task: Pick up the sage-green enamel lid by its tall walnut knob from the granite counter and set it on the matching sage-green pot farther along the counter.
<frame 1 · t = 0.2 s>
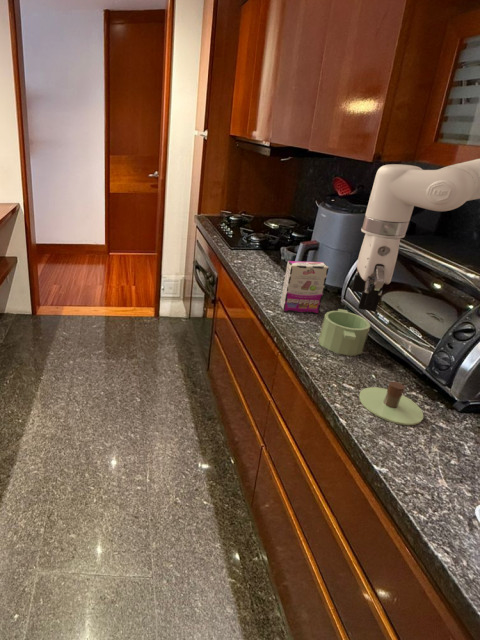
hand: (362, 300, 87), 22 cm above the worktop, tool pointing down, fingers open, 9 cm apart
pot: (339, 346, 109), on the worktop
lid: (389, 406, 86), point 1 cm above the worktop
candy bar box: (298, 309, 130), on the worktop
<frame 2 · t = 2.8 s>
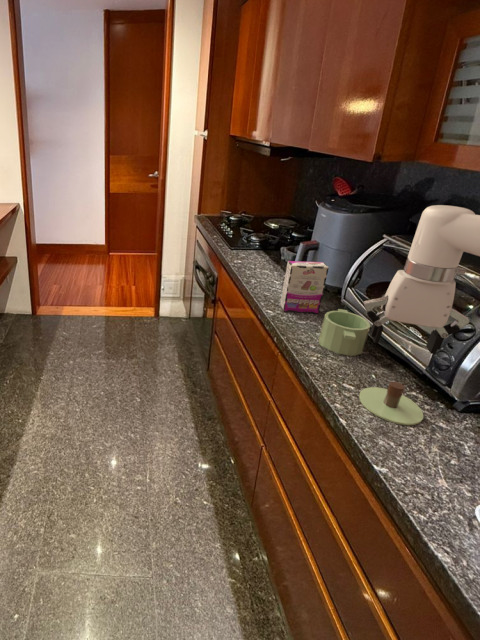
hand: (401, 345, 81), 16 cm above the worktop, tool pointing down, fingers open, 9 cm apart
nothing on the worktop moved.
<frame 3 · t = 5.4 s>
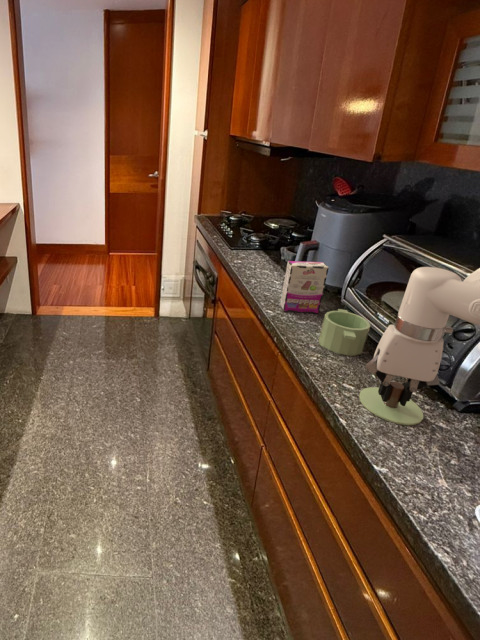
hand: (392, 399, 85), 2 cm above the worktop, tool pointing down, fingers closed on lid, 2 cm apart
lid: (389, 406, 86), point 1 cm above the worktop, touching gripper
everything else where it was.
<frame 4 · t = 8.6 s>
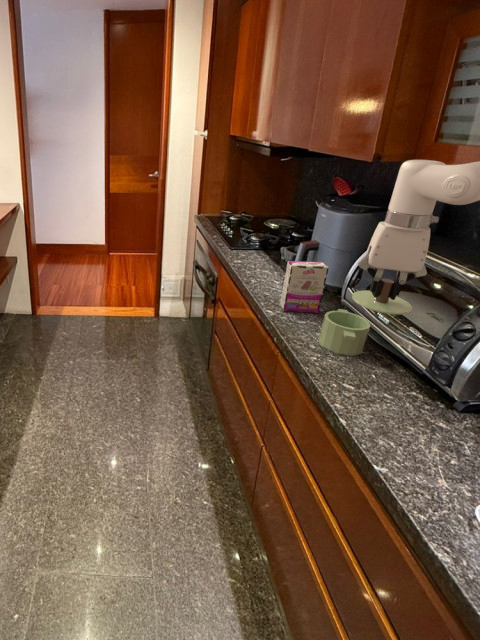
hand: (382, 295, 90), 21 cm above the worktop, tool pointing down, fingers closed on lid, 2 cm apart
lid: (380, 302, 91), point 20 cm above the worktop, touching gripper
everything else where it was.
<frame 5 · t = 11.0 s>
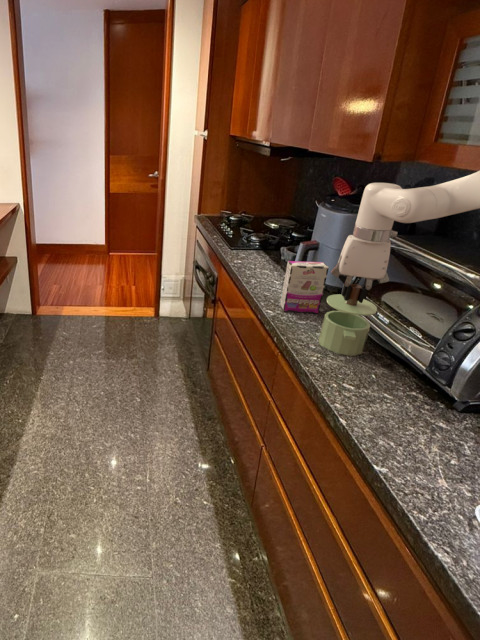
hand: (352, 299, 103), 15 cm above the worktop, tool pointing down, fingers closed on lid, 2 cm apart
lid: (350, 305, 104), point 13 cm above the worktop, touching gripper
everything else where it was.
when the fingers open (10 cm above the worktop, at t = 12.3 s): lid stays where it is, resting on pot.
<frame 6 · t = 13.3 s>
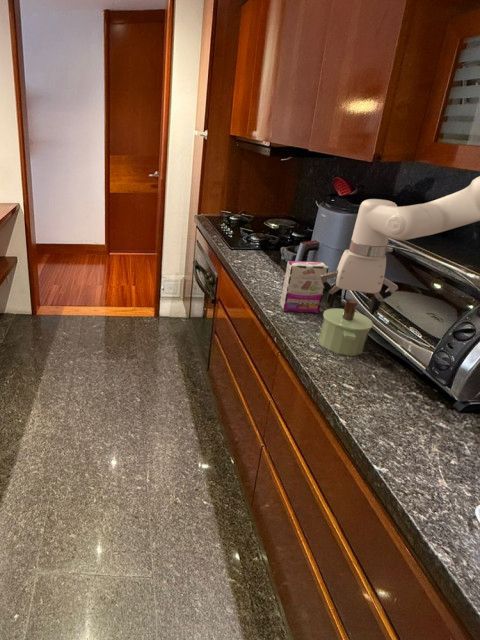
hand: (350, 308, 104), 12 cm above the worktop, tool pointing down, fingers open, 9 cm apart
lid: (347, 319, 106), point 8 cm above the worktop, touching pot
everything else where it was.
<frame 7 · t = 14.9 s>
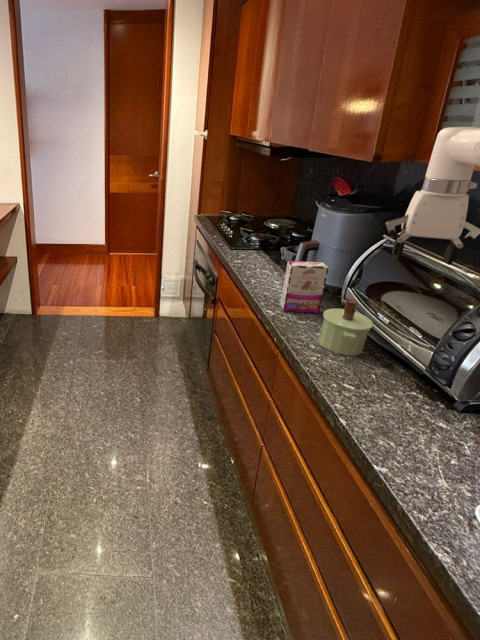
hand: (421, 260, 91), 29 cm above the worktop, tool pointing down, fingers open, 9 cm apart
nothing on the worktop moved.
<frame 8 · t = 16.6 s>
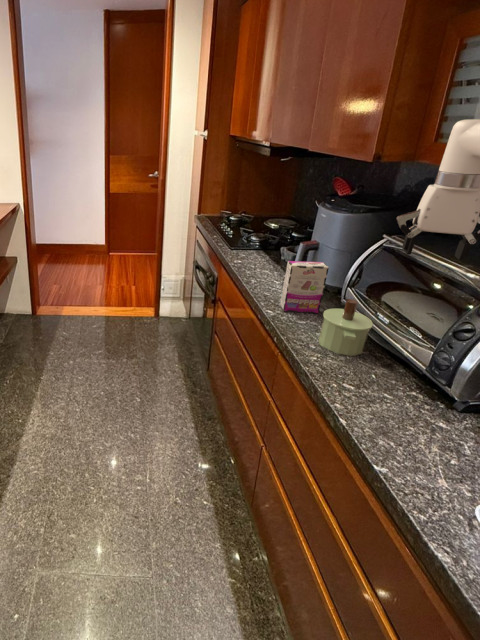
hand: (432, 255, 89), 30 cm above the worktop, tool pointing down, fingers open, 9 cm apart
nothing on the worktop moved.
at the end: lid 0.0 cm off-centre on the pot, point 8.5 cm above the pot's base; lid tilted 0° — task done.
